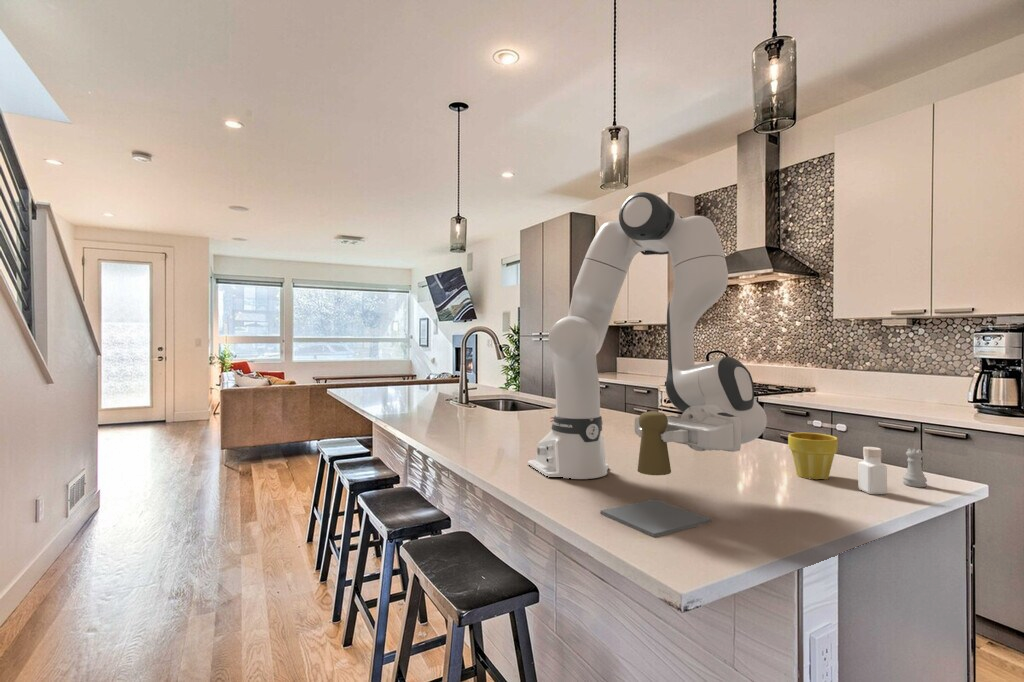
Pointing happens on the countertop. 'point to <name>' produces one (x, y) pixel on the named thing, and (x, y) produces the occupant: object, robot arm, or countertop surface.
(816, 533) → the countertop surface
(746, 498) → the countertop surface
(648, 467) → the olive chess pawn
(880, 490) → the salt shaker
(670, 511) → the plate
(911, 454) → the rook chess piece
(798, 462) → the plant pot
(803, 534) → the countertop surface
